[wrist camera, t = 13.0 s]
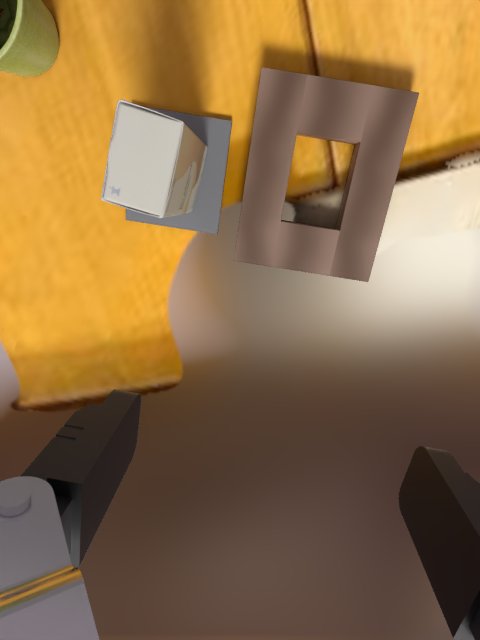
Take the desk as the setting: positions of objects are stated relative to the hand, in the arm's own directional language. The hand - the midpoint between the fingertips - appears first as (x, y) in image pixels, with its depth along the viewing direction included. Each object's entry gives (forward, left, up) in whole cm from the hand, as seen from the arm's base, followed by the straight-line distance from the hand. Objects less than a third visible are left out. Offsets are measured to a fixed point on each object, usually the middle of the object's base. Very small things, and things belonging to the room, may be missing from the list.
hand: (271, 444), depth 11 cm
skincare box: (+9, -7, -29) cm, 31 cm away
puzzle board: (-4, -8, -29) cm, 30 cm away
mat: (+9, -7, -29) cm, 31 cm away
